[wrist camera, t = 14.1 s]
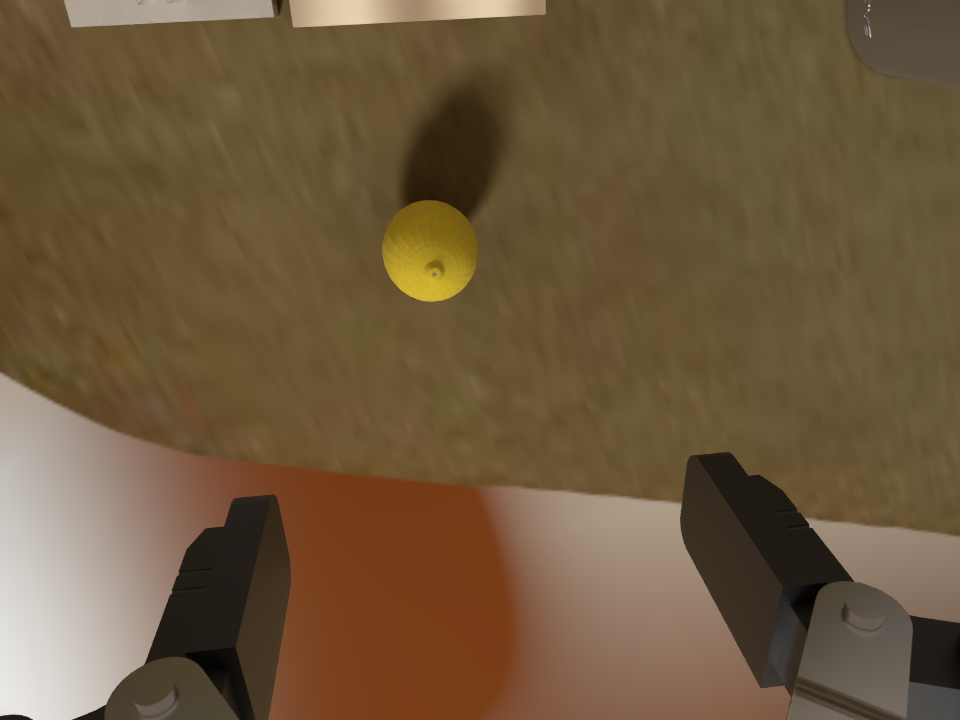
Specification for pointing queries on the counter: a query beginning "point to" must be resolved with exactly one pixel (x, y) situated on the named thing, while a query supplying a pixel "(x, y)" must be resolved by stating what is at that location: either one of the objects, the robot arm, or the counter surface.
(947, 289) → the counter surface
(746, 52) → the counter surface
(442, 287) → the lemon
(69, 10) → the v block
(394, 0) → the wooden square frame
